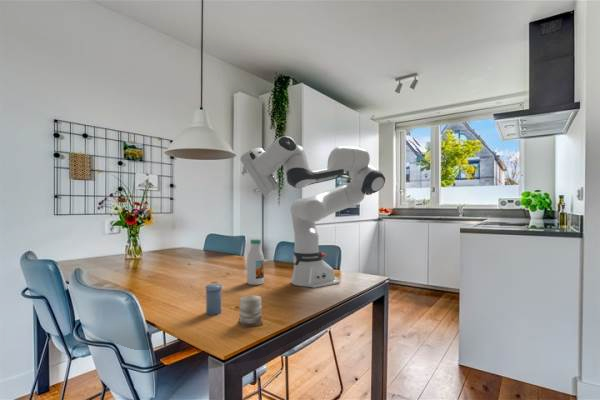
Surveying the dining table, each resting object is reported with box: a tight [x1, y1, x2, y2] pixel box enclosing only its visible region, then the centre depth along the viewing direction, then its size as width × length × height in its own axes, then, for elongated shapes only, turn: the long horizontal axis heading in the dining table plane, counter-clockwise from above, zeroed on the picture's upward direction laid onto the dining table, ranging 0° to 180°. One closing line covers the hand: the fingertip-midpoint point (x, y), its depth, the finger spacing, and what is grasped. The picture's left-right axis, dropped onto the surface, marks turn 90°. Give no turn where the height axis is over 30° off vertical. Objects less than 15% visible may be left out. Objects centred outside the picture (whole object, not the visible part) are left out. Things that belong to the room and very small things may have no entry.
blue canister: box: [205, 283, 223, 316], centre depth 102 cm, size 5×5×9 cm
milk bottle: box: [246, 238, 265, 286], centre depth 140 cm, size 8×8×20 cm
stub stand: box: [238, 294, 264, 329], centre depth 93 cm, size 7×7×7 cm
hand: (249, 182), depth 134 cm, fingers open, 8 cm apart
